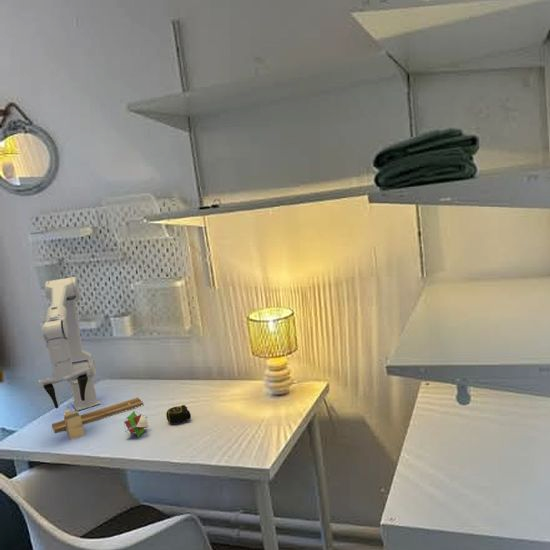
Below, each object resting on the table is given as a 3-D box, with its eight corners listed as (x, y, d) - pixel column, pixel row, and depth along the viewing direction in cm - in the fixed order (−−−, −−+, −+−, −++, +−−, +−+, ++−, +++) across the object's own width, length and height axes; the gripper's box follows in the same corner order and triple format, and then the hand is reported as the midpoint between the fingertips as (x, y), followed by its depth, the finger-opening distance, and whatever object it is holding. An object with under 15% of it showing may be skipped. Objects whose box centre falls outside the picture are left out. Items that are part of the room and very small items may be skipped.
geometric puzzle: (115, 432, 174) (125, 412, 171) (127, 422, 180) (137, 402, 177) (135, 446, 173) (145, 426, 170) (146, 435, 179) (156, 415, 177)
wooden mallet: (63, 426, 190) (59, 408, 189) (76, 422, 192) (72, 404, 190) (70, 439, 178) (66, 421, 177) (84, 435, 180) (80, 416, 179)
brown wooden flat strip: (52, 426, 190) (51, 423, 190) (138, 400, 203) (137, 397, 203) (55, 433, 185) (54, 429, 185) (143, 405, 198) (142, 402, 197)
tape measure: (192, 422, 179) (190, 410, 178) (169, 428, 177) (167, 416, 177) (188, 414, 186) (186, 402, 185) (166, 419, 184) (164, 408, 183)
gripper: (37, 369, 171) (46, 414, 173) (88, 356, 178) (97, 399, 180) (33, 364, 177) (43, 408, 179) (83, 351, 184) (92, 394, 186)
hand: (70, 403), depth 180 cm, fingers open, 7 cm apart
